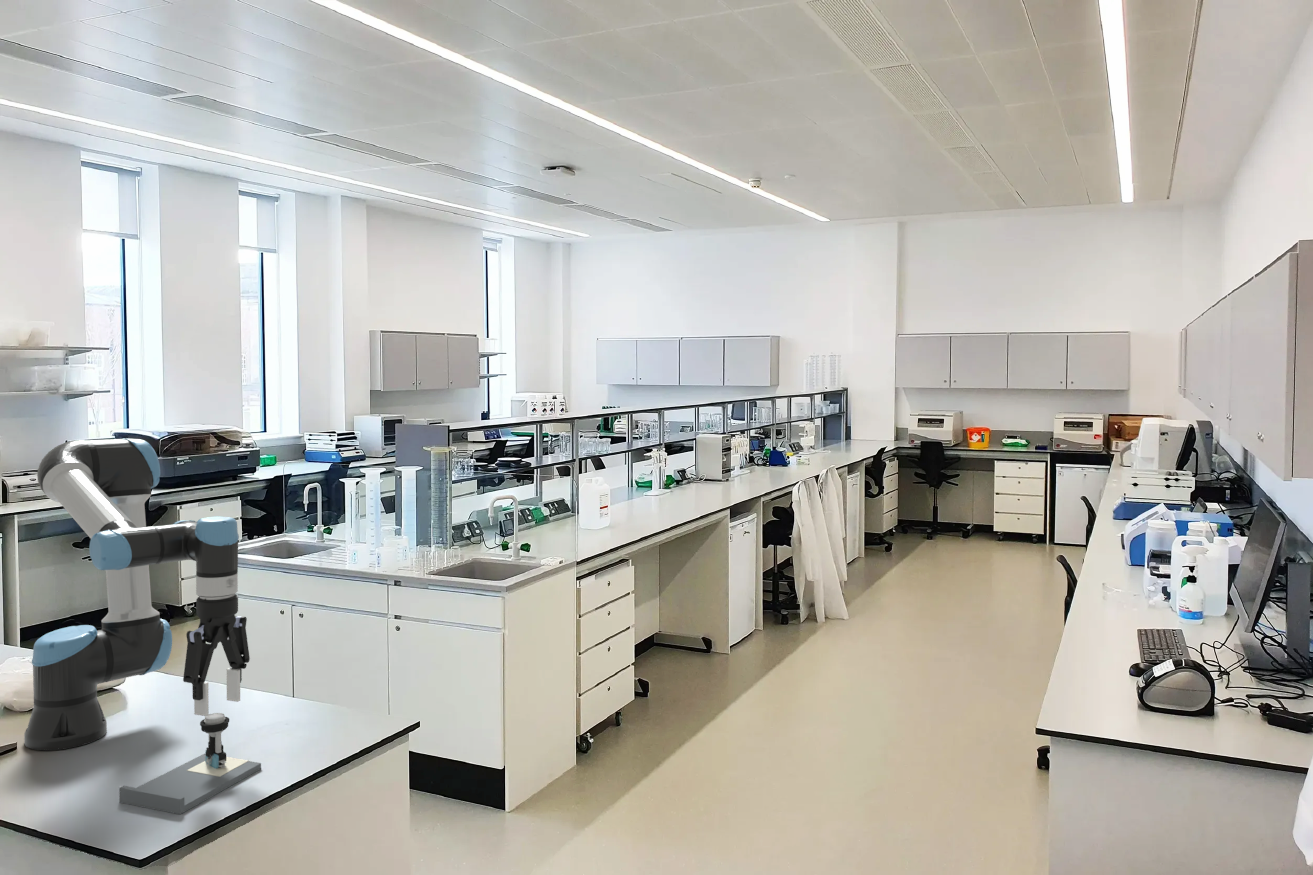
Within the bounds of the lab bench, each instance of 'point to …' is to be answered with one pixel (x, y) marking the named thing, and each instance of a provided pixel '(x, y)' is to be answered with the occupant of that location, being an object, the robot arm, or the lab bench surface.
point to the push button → (215, 739)
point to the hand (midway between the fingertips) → (217, 707)
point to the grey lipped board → (187, 785)
